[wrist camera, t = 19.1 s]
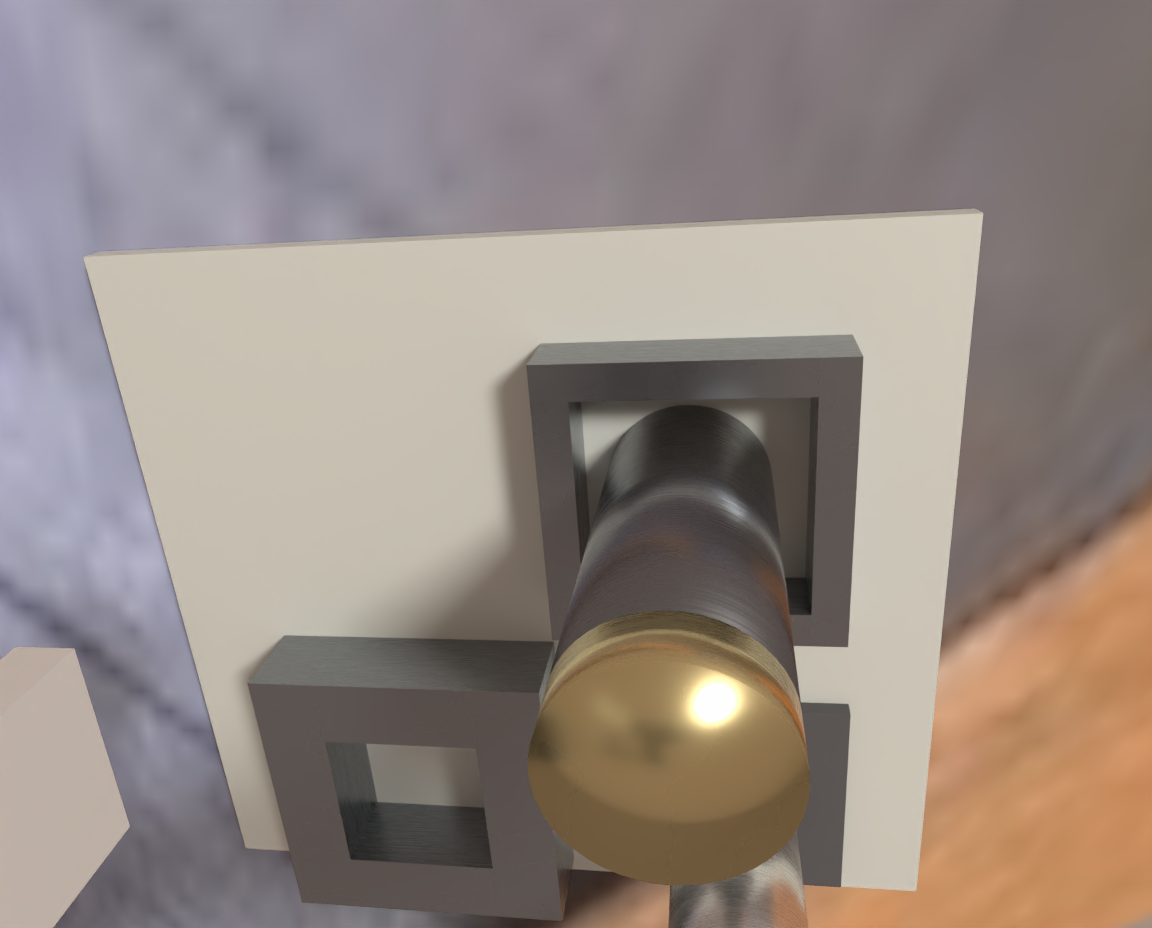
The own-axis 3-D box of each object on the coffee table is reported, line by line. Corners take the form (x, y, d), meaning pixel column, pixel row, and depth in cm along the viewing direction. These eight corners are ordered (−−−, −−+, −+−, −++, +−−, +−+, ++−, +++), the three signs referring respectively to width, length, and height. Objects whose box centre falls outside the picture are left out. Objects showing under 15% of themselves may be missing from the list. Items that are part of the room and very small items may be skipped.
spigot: (603, 406, 25) (515, 658, 15) (773, 403, 25) (814, 666, 14) (612, 553, 27) (539, 876, 16) (771, 554, 26) (806, 894, 16)
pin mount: (331, 843, 34) (302, 902, 31) (284, 635, 30) (247, 683, 28) (574, 858, 32) (562, 921, 30) (553, 641, 29) (538, 693, 26)
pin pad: (631, 862, 32) (629, 873, 31) (620, 696, 29) (618, 706, 29) (839, 875, 31) (841, 887, 30) (848, 703, 28) (850, 714, 28)
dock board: (255, 832, 35) (245, 848, 34) (100, 251, 27) (83, 256, 26) (911, 871, 31) (916, 890, 31) (974, 208, 23) (983, 213, 22)
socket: (562, 603, 28) (551, 640, 26) (540, 343, 25) (526, 364, 23) (839, 607, 27) (848, 647, 25) (852, 334, 24) (863, 356, 22)
